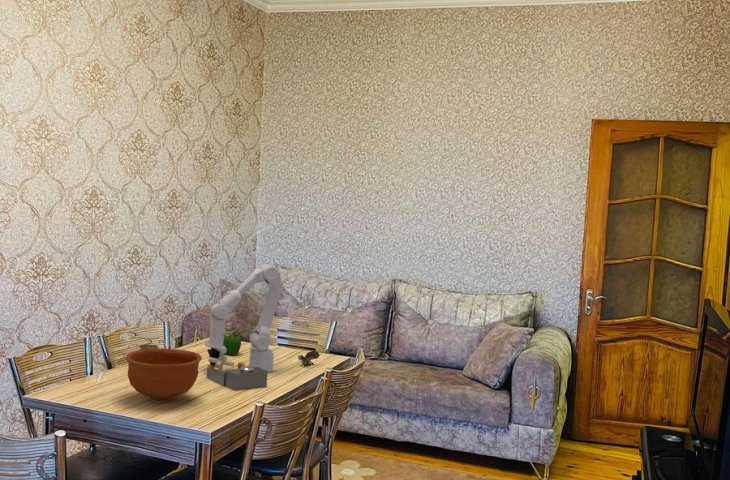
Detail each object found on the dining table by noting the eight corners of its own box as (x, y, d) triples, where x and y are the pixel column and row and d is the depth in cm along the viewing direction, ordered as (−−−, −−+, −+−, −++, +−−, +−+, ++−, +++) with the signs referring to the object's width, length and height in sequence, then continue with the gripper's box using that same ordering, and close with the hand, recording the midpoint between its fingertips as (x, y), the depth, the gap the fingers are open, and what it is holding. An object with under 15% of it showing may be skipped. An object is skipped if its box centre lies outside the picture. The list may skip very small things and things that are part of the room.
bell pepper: (243, 353, 323) (244, 332, 323) (235, 357, 315) (237, 334, 315) (226, 351, 325) (227, 330, 325) (218, 354, 317) (220, 332, 317)
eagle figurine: (314, 366, 305) (323, 359, 313) (306, 352, 305) (315, 345, 313) (301, 373, 308) (310, 365, 316) (292, 358, 308) (302, 351, 316)
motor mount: (240, 374, 285) (241, 356, 285) (267, 386, 270) (269, 368, 269) (206, 377, 276) (207, 359, 275) (232, 390, 260) (234, 371, 260)
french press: (134, 367, 282) (138, 305, 281) (164, 368, 285) (168, 306, 284) (134, 373, 272) (138, 309, 271) (165, 374, 276) (169, 310, 275)
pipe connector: (227, 380, 277) (230, 356, 276) (203, 375, 278) (206, 351, 277) (235, 372, 287) (238, 348, 286) (211, 367, 288) (214, 344, 287)
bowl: (210, 395, 252) (213, 353, 251) (176, 413, 227) (180, 367, 227) (147, 386, 257) (150, 345, 256) (107, 403, 233) (110, 357, 232)
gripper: (199, 330, 288) (196, 363, 288) (216, 337, 277) (213, 372, 277) (215, 330, 293) (212, 362, 293) (232, 337, 281) (229, 370, 282)
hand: (213, 367), depth 285 cm, fingers closed, pressing on pipe connector
